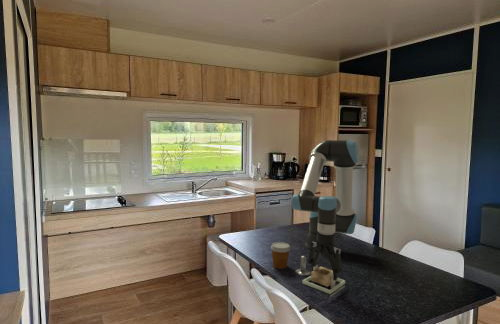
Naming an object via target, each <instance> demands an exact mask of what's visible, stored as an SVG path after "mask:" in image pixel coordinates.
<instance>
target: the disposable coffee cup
mask: <svg viewBox="0 0 500 324" xmlns="http://www.w3.org/2000/svg"><path fill="white" fill-rule="evenodd" d="M270 249H271V254H272V265H273V267H274V269H275V268H276V269H280V270H283V269H286V268H287V266H288V260H289V253H290V250H291V247H290V244H289V243H286V242H282V241H276V242H273V243H272V244H271V246H270Z"/></svg>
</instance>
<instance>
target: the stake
mask: <svg viewBox="0 0 500 324" xmlns="http://www.w3.org/2000/svg"><path fill="white" fill-rule="evenodd" d="M306 265H307V256H306V255H301V256H300V267H299V268H298V269H296V270H295V271H294V272H295V274H297V275H300V276H310V275H311V271H310V270H308V269H306V268H307V267H306Z"/></svg>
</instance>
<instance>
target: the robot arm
mask: <svg viewBox="0 0 500 324" xmlns="http://www.w3.org/2000/svg"><path fill="white" fill-rule="evenodd" d="M359 160H360V152H359V146H358V143H357V141H356V140H349V139H348V140H345V139H344V140H343V139H341V140H337V139H336V140H334V139H333V140H332V139H327V140H324V141H321V142H319V143H318V144H316V145H315V146H314V147H313V148H312V150H311V151H310V153H309V156H308V161H309V162H308V165H307V168H306V171H305V175H304V177H303V180H302V183H301V186H300V188H299V192H298V193H294V194H293V195H292V197H291V203H290V204H291V209H292V210H295V211H299V212H309V225H308V230H309V231H308V235H307V238H306V241H305V247H306V248H307V249H309V250H310V251H309V253H308V254H309V255H308V259H307V263H308V264H310V265H311V272H312V271H314V270H316V269H317V268H319V265H318V262H319V260H320V258H321V256H322V254H324V255H326V257H327V258H328V261H329V264H330V267H331V270H333V272H332V273H331V285H330V289H332V288H333V287H335V286H336V282H337V281H336V280H337V278H339V275H338V274H341V273H342V272H343V264H342V263H343V262H342V256H341V255H342V248H339V247H336V245H335V242H336V241H335V240H336V234H335V233H337V234H338V233H339V234H344V235H353V234H354V233H355V229H356V226H357V221H358V214H356V213H355V210H354V209H353V175H354V174H353V173H354V172H353V170H354V168H355V167H356V164H358V163H359ZM327 162H333V166H334V167H335V169H336V170H335V171H336V173H335V175H336V177H335V179H336V180H335V181H336V182H335V183H336V184H335V196H330V195H325V196H324V195H323V196H317V195H316V192H317V189H318V185H319V183H320V179H321V175H322V171H323V169H324V166H325V164H326V163H327ZM335 281H336V282H335Z"/></svg>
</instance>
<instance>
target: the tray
mask: <svg viewBox="0 0 500 324" xmlns="http://www.w3.org/2000/svg"><path fill="white" fill-rule="evenodd" d="M310 281H311V275H308V277H306V278H304V279H302V281H301V282H302V283H301V284H303V285H305V286H308V287H311V288H313V289H316V290H319V291H321V292H323V293H326V294H329V296H328V298H332V297H333V296H334V295H336V294H337V293H339V292H340V291H341V290H343V289H344V288H346V280H345V279H342V278H340V277H338V278H337V281H336V282H337V283H338V284H337V283H336V284H335V287H333V288H330V289H328V288H327V287H323V286H322V285H318V284H317V283H316V284H315V283H313V282H310Z"/></svg>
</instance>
